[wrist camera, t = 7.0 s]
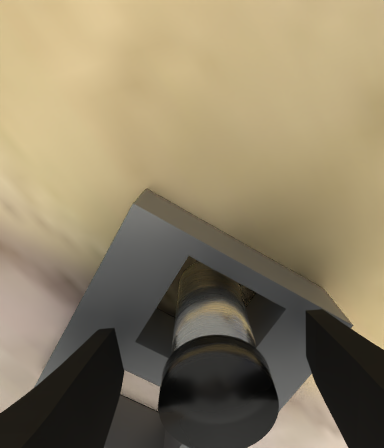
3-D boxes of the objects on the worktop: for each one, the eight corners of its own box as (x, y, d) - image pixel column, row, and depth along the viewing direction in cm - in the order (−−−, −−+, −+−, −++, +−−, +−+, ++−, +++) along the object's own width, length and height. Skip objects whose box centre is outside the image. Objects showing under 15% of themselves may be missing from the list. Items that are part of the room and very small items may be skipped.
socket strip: (328, 291, 15) (359, 328, 12) (205, 444, 18) (206, 502, 15) (146, 188, 14) (133, 203, 11) (46, 372, 17) (15, 422, 14)
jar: (254, 273, 15) (301, 386, 8) (223, 326, 16) (242, 467, 9) (192, 245, 15) (189, 340, 8) (163, 301, 16) (139, 429, 9)
